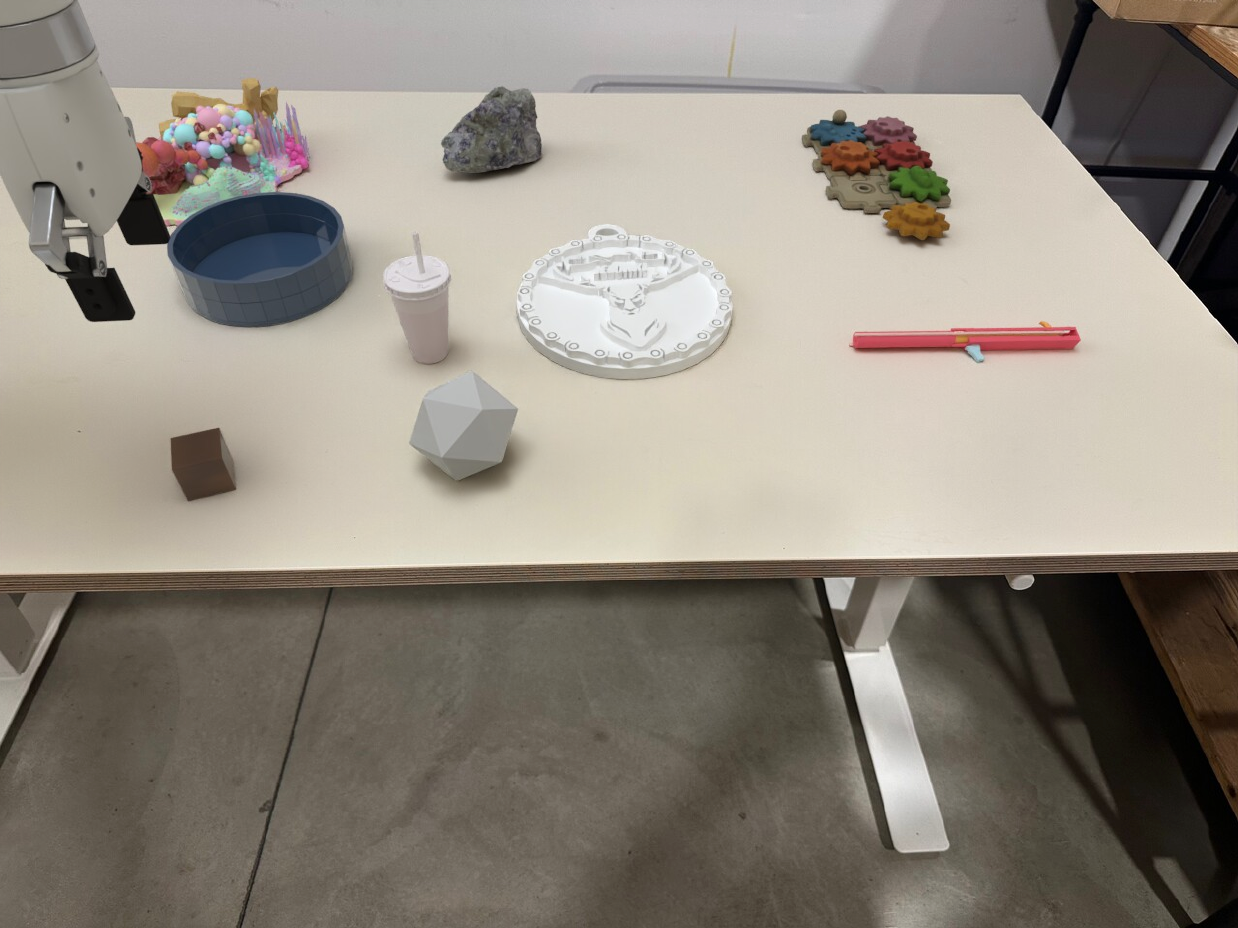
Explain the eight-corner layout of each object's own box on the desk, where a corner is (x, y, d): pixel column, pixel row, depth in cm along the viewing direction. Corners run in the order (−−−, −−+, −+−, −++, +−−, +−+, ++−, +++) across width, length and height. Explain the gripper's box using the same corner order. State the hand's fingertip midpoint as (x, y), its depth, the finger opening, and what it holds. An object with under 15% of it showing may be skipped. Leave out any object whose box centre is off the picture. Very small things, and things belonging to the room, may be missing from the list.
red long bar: (1076, 365, 91) (1065, 328, 93) (1087, 354, 89) (1075, 316, 91) (853, 368, 90) (846, 330, 92) (859, 357, 88) (852, 319, 90)
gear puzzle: (979, 247, 105) (990, 217, 102) (849, 249, 104) (857, 219, 101) (903, 130, 126) (911, 102, 124) (795, 131, 125) (800, 103, 122)
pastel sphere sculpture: (127, 142, 118) (99, 74, 112) (304, 122, 124) (288, 56, 117) (114, 238, 102) (81, 165, 95) (319, 210, 107) (301, 139, 101)
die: (480, 414, 84) (404, 361, 77) (549, 406, 78) (474, 348, 71) (454, 494, 81) (372, 446, 73) (524, 492, 75) (443, 440, 68)
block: (187, 501, 74) (171, 469, 71) (185, 469, 77) (170, 437, 74) (236, 489, 75) (222, 458, 73) (233, 458, 78) (219, 426, 75)
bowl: (188, 342, 89) (169, 298, 85) (181, 249, 101) (165, 207, 97) (365, 307, 94) (355, 264, 90) (340, 223, 106) (330, 181, 102)
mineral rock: (444, 183, 113) (433, 107, 106) (449, 144, 120) (439, 71, 113) (542, 181, 114) (539, 106, 106) (541, 143, 121) (538, 70, 114)
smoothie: (450, 376, 86) (431, 255, 76) (389, 367, 87) (362, 247, 77) (469, 337, 91) (453, 218, 81) (410, 329, 91) (388, 210, 81)
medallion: (526, 388, 85) (525, 370, 84) (507, 240, 104) (506, 223, 102) (755, 369, 88) (759, 351, 87) (698, 228, 107) (700, 211, 105)
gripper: (9, -11, 57) (114, 219, 70) (-115, 102, 45) (37, 355, 58) (127, -13, 58) (210, 216, 70) (34, 99, 46) (153, 350, 59)
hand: (132, 279), depth 64 cm, fingers open, 9 cm apart
